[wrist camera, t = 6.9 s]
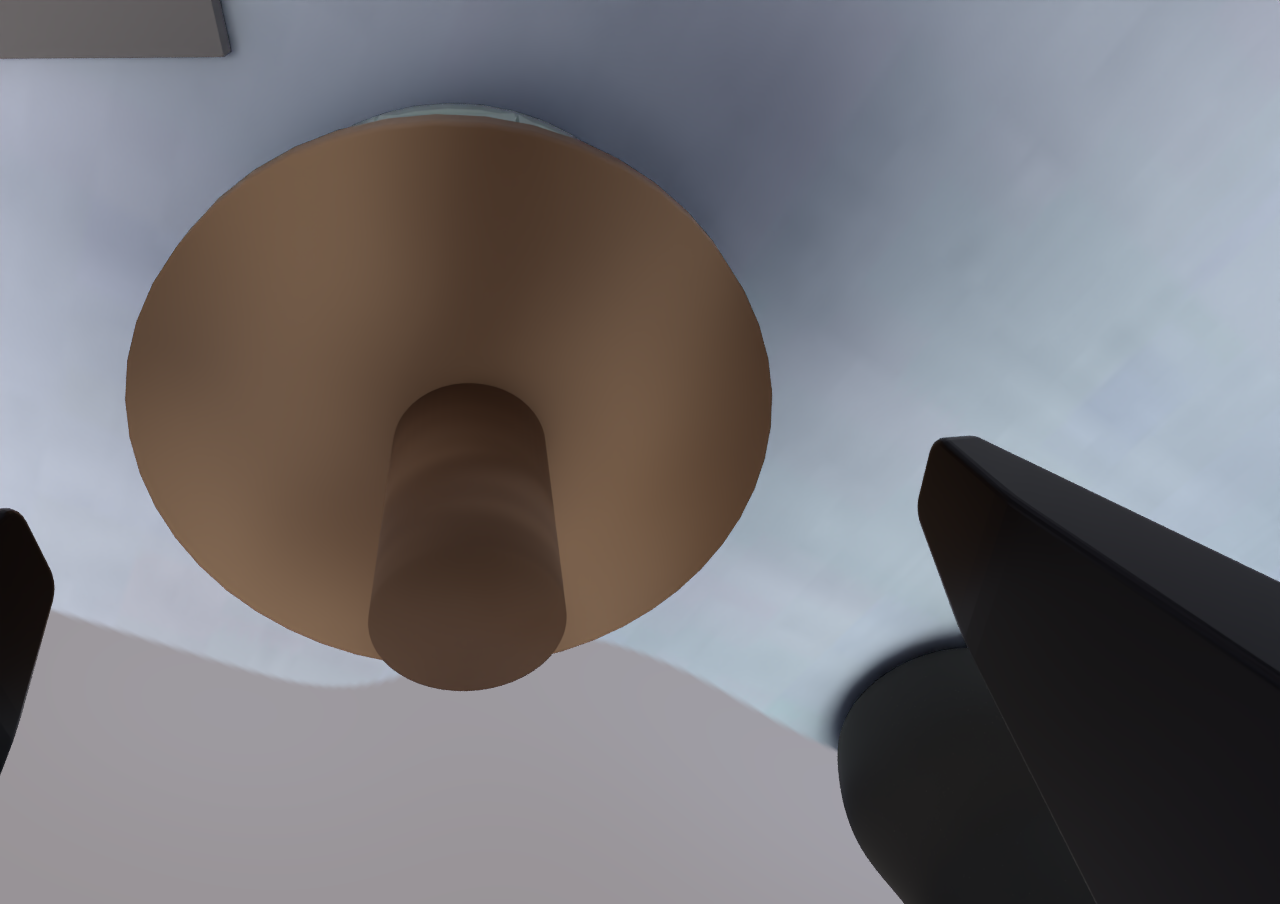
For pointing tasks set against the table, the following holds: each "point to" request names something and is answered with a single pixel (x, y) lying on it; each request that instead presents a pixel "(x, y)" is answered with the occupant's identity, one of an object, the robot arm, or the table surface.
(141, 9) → the mat
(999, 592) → the robot arm
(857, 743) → the cola bottle
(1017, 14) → the table surface
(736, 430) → the lid
